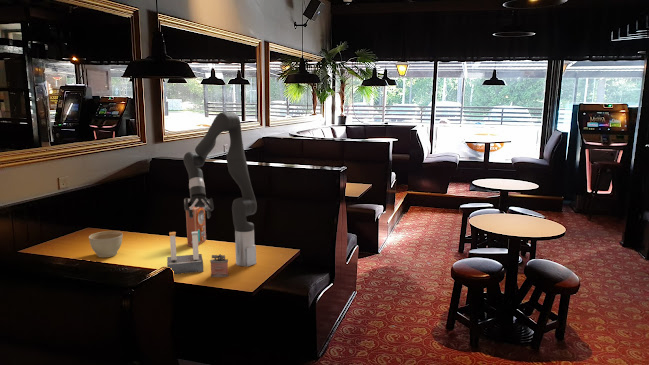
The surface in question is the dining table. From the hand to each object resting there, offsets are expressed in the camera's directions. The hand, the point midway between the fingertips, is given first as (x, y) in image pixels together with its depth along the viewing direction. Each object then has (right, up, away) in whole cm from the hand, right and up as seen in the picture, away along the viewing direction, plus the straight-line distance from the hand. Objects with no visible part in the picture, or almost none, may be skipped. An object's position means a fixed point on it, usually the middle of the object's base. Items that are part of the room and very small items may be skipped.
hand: (200, 218), depth 237 cm
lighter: (+13, -26, -15) cm, 33 cm away
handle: (0, -19, -8) cm, 21 cm away
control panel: (-11, -17, +36) cm, 42 cm away
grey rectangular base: (-5, -24, -7) cm, 26 cm away
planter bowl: (-53, -21, +15) cm, 59 cm away
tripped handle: (-10, -19, -9) cm, 23 cm away
